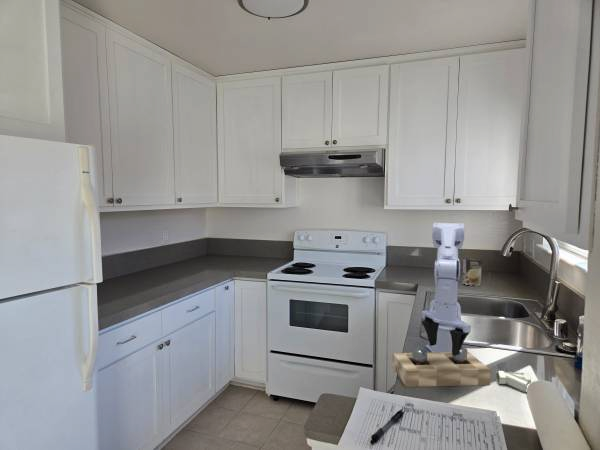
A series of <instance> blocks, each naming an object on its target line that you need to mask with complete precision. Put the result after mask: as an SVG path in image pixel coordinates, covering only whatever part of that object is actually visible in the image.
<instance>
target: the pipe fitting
mask: <svg viewBox="0 0 600 450" xmlns="http://www.w3.org/2000/svg"><path fill="white" fill-rule="evenodd" d="M495 381H496V383H497V385H499V384H500V385H507V386H509V387H512V388H513V389H516V390H518V391H521V392H522V393H525V394H526V389H527V387H528V385H529V384H530V383H531V384H532V378H531V375H530V374H529V373H527V372H516V371H515V372H513V371H504V370H496V371H495Z"/></svg>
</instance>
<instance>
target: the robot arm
mask: <svg viewBox="0 0 600 450" xmlns="http://www.w3.org/2000/svg"><path fill="white" fill-rule="evenodd" d="M465 229H466V228H465V224H464V223H463V222H462V223H460V222H459V223H456V222H454V223H453V222H452V223H451V222H437V221H435V222H433V224H432V236H431V237H432V244H433V247H435V248H436V249H437V252H436V260H434V271H433V272H434V273H433V275H434V286H435V289H434V290H435V292H434V299H432V300H431V301H430V304H429V305H430V307H429V310H423V311H421V318H422V319H424V320H421V324H422V326H423V328H424V329H425V330H424V331H425V333H426V335H427V339H428V344H426V345H425V347H426V349H427V350H428V351H430V352H452V355H454V356H456V355H459V353H460V350H461V347H463V344H464V342H465V340H466V339H467V337H468V335H470V333H471V329H472V324H471V323H467V322H465V321H463V320H462V310H461V309H462V308H461V305H460V302H458V285H459V283H458V282H459V281H460V278H461V262H460V259H459V250H460V249H462V248H463V246H464V240H465Z"/></svg>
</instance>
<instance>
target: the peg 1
mask: <svg viewBox="0 0 600 450" xmlns="http://www.w3.org/2000/svg"><path fill="white" fill-rule="evenodd" d="M411 350H412V352H411V353H412V363H413V364H414V365H427V352H428V348H427V347H426V348H425V347H423V346H422V347H421V346H413V347H412V349H411Z"/></svg>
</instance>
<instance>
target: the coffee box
mask: <svg viewBox="0 0 600 450" xmlns="http://www.w3.org/2000/svg"><path fill="white" fill-rule="evenodd" d="M482 263H483V260H481V259H478V258H463V261H462V277H461V278H462V279H461V284H462V283H463V284H465V285H482V284H481V283H482V267H483V265H482ZM463 284H462V285H463ZM465 285H464V286H465Z"/></svg>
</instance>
